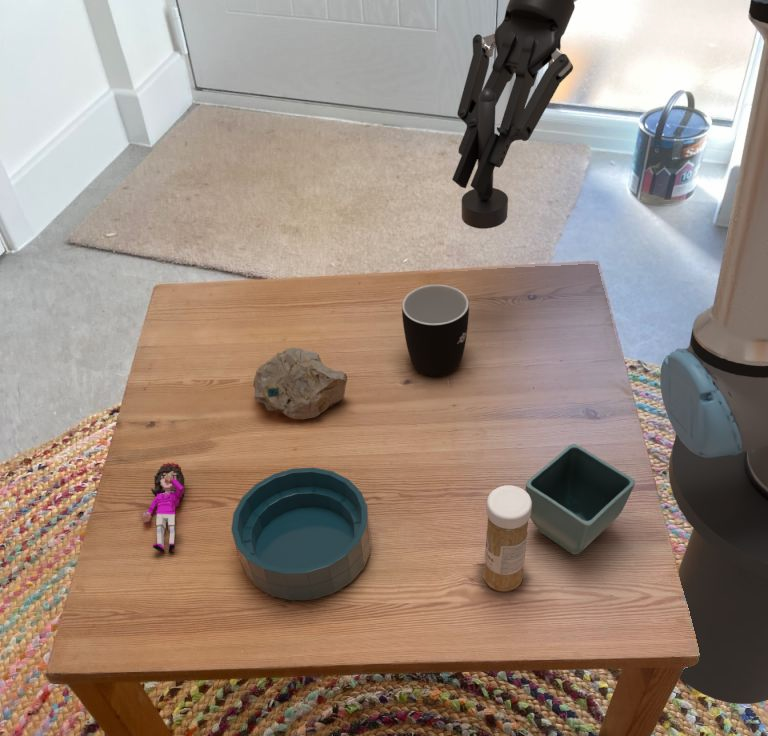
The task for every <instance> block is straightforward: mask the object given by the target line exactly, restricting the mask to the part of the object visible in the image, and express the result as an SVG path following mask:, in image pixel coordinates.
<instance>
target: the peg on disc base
mask: <svg viewBox="0 0 768 736" xmlns="http://www.w3.org/2000/svg"><path fill="white" fill-rule="evenodd" d="M496 106H497V104H496V95H495V93H494V91H493V90H491V89H484V90H483V89H482V91H481V93H480V95H479V112H478V159H477V166H478V165H479V163H480V160H481V158H482V155H483V153H484V150H485V148H486V146H487V143H488V141H489V138H490V136H491V133H495V134H496ZM508 206H509V197H508V194H506V192H504V191H503V190H501V189H498V188H495V187H494V172H493V173H492V175H491V178H490V180H489V183H488V185H487V187H486V190H485V192H484V194H481V193H478V192H477V191H476V190H475V189H474V188H472V189H470V190H468V191H466V192H464V194H463V195H462V197H461V220H462V222H463V223H464V224H465V225H467V226H468V227H471V228H475V229H482V230H486V229H492V228H495V227H499V226H501V225H502V224H504V223H505V222H506V221H507V219H508V211H509V210H508V209H509V207H508Z"/></svg>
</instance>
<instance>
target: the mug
mask: <svg viewBox="0 0 768 736" xmlns="http://www.w3.org/2000/svg"><path fill="white" fill-rule="evenodd" d="M401 303H402V304H401V315H402V316H401V317H402V325H403V333H404V339H405V344H406V347H407V352H408V355H409V358H410V361H411V363H412V365H413V367H414V368H415V369H416V370H417V372H419V373H420V374H422V375H424V376H426V377H434V378H439V377H444V376H445V377H446V376H447V375H450V374H451V373H453V372H454V371H455V370H457V368H458V367H459V365H460V364H461V361H462V359H463V356H464V352H465V347H466V342H467V335H468V329H469V318H470V317H469V316H470V315H469V314H470V303H469V299H468V297H467V295H466V294H465V293H464V292H463V291H461V290H460V289H458V288H457V287H454V286H451V285H446V284H426V285H423V286H419V287H417V288H415V289H413V290H411V291H410V292H408V294H407V295H405V297H404V299H403V301H402V302H401Z"/></svg>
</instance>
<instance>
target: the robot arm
mask: <svg viewBox="0 0 768 736" xmlns="http://www.w3.org/2000/svg"><path fill="white" fill-rule="evenodd" d="M577 1H578V0H508V3H507V6H506V8H505V13H504V17H503V20H502V22H501V23H500V25H498V26H497V27H496V29H495V31H494V33H492V34H489V35H486V36H484V37H483V36H482V35H481V34H478V33H477V34H475V35H474V36H473V37H472V57H471V61H470V65H469V68H468V72H467V76H466V80H465V83H464V86H463V91H462V94H461V97H460V101H459V106H458V109H457V117H458V118H460V120H461V121H462V122H463V123H464V124H465V125H466V129H465V130H464V134H463V137H462V139H461V141H460V144H459V146H458V154H459V155H460V159H459V161H458V163H457V166H456V168H455V171H454V174H453V176H452V178H451V180H452V181H453V182H454V183H455V184H457V185H458V186H459V187H460V188H463V189H466V188H467V187H468V184H469V182H470V179H471V176H472V174H473V172H474V169H475V167H476V164H477V163H478V112H479V95H480V93H481V91H482V90H484V89H491V90H493V91H494V93H495V95H496V105H497V104H498V102H499V100H500V98H501V96H502V94H503V92H504V90H505V88H506V86H507V84H508V83H509V82H511V80H512V79H513V77H514V74H515V78H514V81H513V85H512V88H511V91H510V94H509V96H508V100H507V104H506V107H505V110H504V113H503V117H502V120H501V123H500V125H499V127H498V126H496V132H498V133H499V134H498V133H496V132H495V133H491V136H490V138H489V141H488V143H487V146H486V148H485V150H484V153H483V155H482V158H481V160H480V163H479V165H478V164H477V168H476V170H475V173H474V175H473V177H472V180H471V183H470V187H471V188H472V189H475V190H476V191H477V192H478V193H481V194H484V192H485V190H486V187H487V185H488V183H489V180H490V178H491V175H492V173H493V174H494V170H495V168H498V169H500V168H502V167H501V166H503V164H504V161H505V159H506V157H507V155H508V152H509V149H510V147H511V145H512V143H513V142H515V141H523V142H526V141H528V140H529V139H530V138H531V137H532V134H533V133H534V130H535V129H536V127H537V126H538V123H539V122H540V120H541V118H542V116H543V115H544V113H545V111H546V109H547V107H548V105H549V104H550V102H551V100H552V98H553V97H554V95H555V93H556V91H557V89H558V88H559V87H560V84H561V83H562V82H563V81H564V80H565V79H566V78H567V77H568V76H569V75H570V74H571V73H572V72H573V70H574V65H573V63H572V61H571V60H570V58H569V56H568V54H566V53H562V51H561V48H562V45H561V43H562V42H561V41H562V37H563V36H564V34H565V33H566V30H567V28H568V26H569V23H570V21H571V18H572V16H573V13H574V11H575V8H576V6H575V3H576V2H577ZM747 16H748V20H749V21H750V22H751V24H752V25H753V27H754V28H755V29H756V30H757V32H758V33H759V34H760V36H761V37H762V41H763V46H762V50H761V56H760V61H759V67H758V71H757V77H756V81H755V82H756V83H755V86H754V93H753V97H752V101H751V102H752V103H751V108H750V112H749V118H748V123H747V129H746V134H745V139H744V144H743V150H742V154H741V160H740V163H739V164H740V165H739V170H738V174H737V180H736V185H735V191H734V197H733V201H732V207H731V212H730V215H729V222H728V228H727V231H726V238H725V243H724V249H723V254H722V258H721V262H720V268H719V273H718V274H719V275H718V279H717V284H716V288H715V294H714V300H713V304H712V305H711V306H709V307H707V308H705V309H704V310H702V311H701V312H700V313H699V314H698V315H696V318H695V319H694V321H693V324H692V329H691V335H690V341H689V345H688V346H687V348H676V349H675V350H674V351H671V352H670V353H669V354H668V355H666V356H665V358H664V359H663V360H662V363H661V366H660V373H659V378H660V380H659V382H660V392H661V399H662V402H663V406H664V409H665V412H666V414H667V417H668V420H669V422H670V425H671V428H672V429H673V431H674V432H675V435H676V434H677V436H678V437H679V439H680V440H681V441H682V443H683V444H684V445H685V446H686V447H687V448H688V449H689V450H690V451H692V452H693V453H695V454H696V455H698V456H701V457H705V458H713V457H719V456H726V455H738V454H741V453H742V452H746V453H745V457H744V467H745V471H746V474H747V477H748V479H749V481H750V482H751V484H752V485H753V487H754V488H755V489H756V490H757V491H758V492H759V493H760V494H761V495H762V496H763V497H764V498H765V499H767V500H768V0H750V2H749V8H748V14H747ZM495 48H496V49H495ZM494 50H496V54H497V55H496V57H495V60H494V61H493V64H492V70H491V72H490V74H489V76H488V79H487V81H486V77H487V73H488V71H489V66H490V58H492V57H493V55H494ZM546 65H548V67H547V68H546V70H545V71H544V73H543V74H542V76H541V78H540V80H539V82H538V83H537V85H536V87H535V89H534V91H533V93H532V95H531V96H530V92H531V89H532V88H533V87H534V86H535V83H536V81H537V77H538V73H539V72H540V70H542V69H543V68H544V67H545V66H546ZM485 81H486V83H485ZM529 96H530V98H529ZM528 99H529V100H528Z"/></svg>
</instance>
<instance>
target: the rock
mask: <svg viewBox="0 0 768 736" xmlns="http://www.w3.org/2000/svg"><path fill="white" fill-rule="evenodd" d="M347 382H348V375H347V373H345V372H344V371H342V370H335V369H331V368H330V367H328V366H327V365H326V364H324V363H323V362H322V359H321V357H320V354H319V352H316V351H314V350H305V349H301V348H300V347H288V348H286V349H284V350H283V351H282V352H277V353H276V354H275V355H274V356H272V357H271V358H270V359H269V360H267V361H266V362H265V363H264V364H261V365H260V366H258V368H257V369H256V371H255V375H254V378H253V382H252V385H253V388H254V400H255V402H257V403H260V404H263V405H264V407H265V409H266V410H267V411H268V412H276V411H277V412H279V413H283V416H287V417H288V418H289V419H294V420H306V419H313V418H316V417H318V416H319V415H320V414H321V413H323V412H325V411H326V410H327V409H329V408H331V407H333V406H334V405H335V404H337V403H338V402H340V401H341V400H342V399H344V398H345V393H346V387H347Z"/></svg>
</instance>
